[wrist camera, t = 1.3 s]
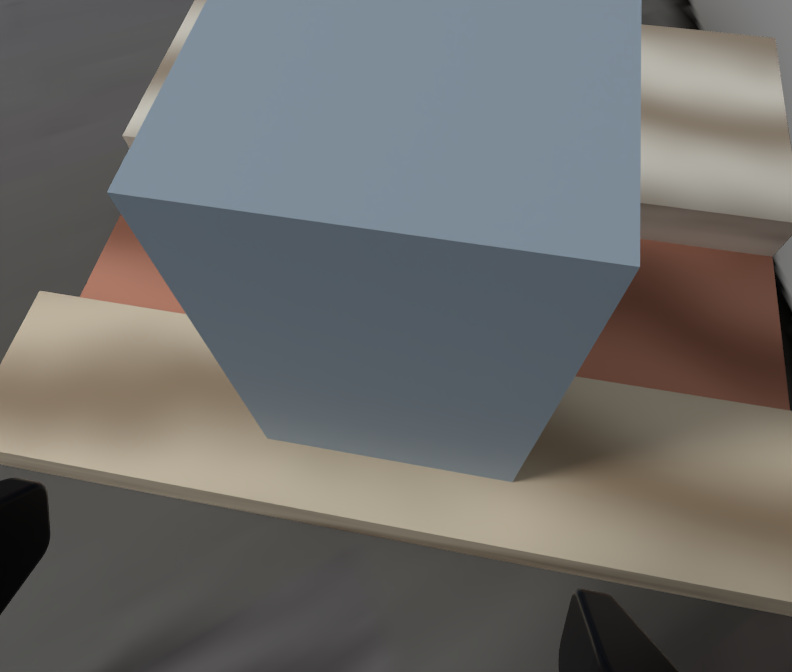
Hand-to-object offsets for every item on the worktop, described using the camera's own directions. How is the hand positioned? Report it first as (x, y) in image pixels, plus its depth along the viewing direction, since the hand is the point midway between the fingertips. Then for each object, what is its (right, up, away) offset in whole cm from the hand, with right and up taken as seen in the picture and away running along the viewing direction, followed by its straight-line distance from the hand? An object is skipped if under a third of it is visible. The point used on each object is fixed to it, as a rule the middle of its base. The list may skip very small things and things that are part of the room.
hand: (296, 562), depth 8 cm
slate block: (+2, +2, +14) cm, 14 cm away
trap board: (+3, +7, +19) cm, 20 cm away
